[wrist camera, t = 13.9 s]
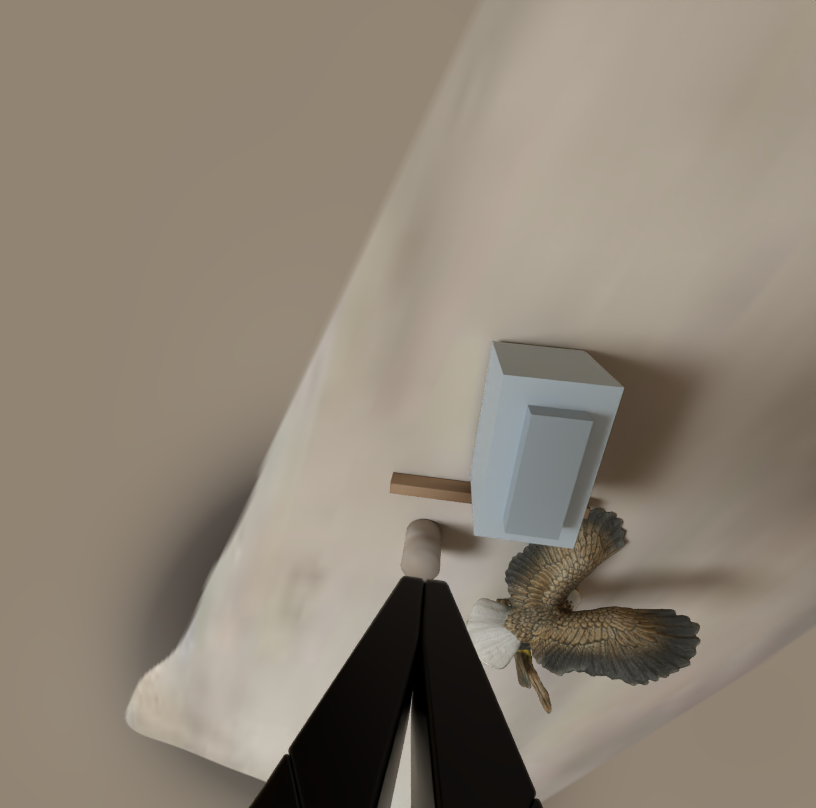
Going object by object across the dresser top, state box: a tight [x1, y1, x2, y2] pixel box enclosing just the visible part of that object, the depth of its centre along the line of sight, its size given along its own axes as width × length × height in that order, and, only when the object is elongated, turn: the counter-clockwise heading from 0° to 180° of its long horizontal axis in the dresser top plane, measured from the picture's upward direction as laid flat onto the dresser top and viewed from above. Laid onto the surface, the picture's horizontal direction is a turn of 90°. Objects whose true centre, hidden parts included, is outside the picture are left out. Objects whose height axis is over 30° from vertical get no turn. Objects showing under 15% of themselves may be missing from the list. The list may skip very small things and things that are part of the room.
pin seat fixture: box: [390, 473, 590, 582], centre depth 21 cm, size 10×19×2 cm, turn 175°
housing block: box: [470, 341, 624, 549], centre depth 17 cm, size 4×7×5 cm, turn 175°
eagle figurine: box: [466, 508, 700, 714], centre depth 20 cm, size 8×7×9 cm
